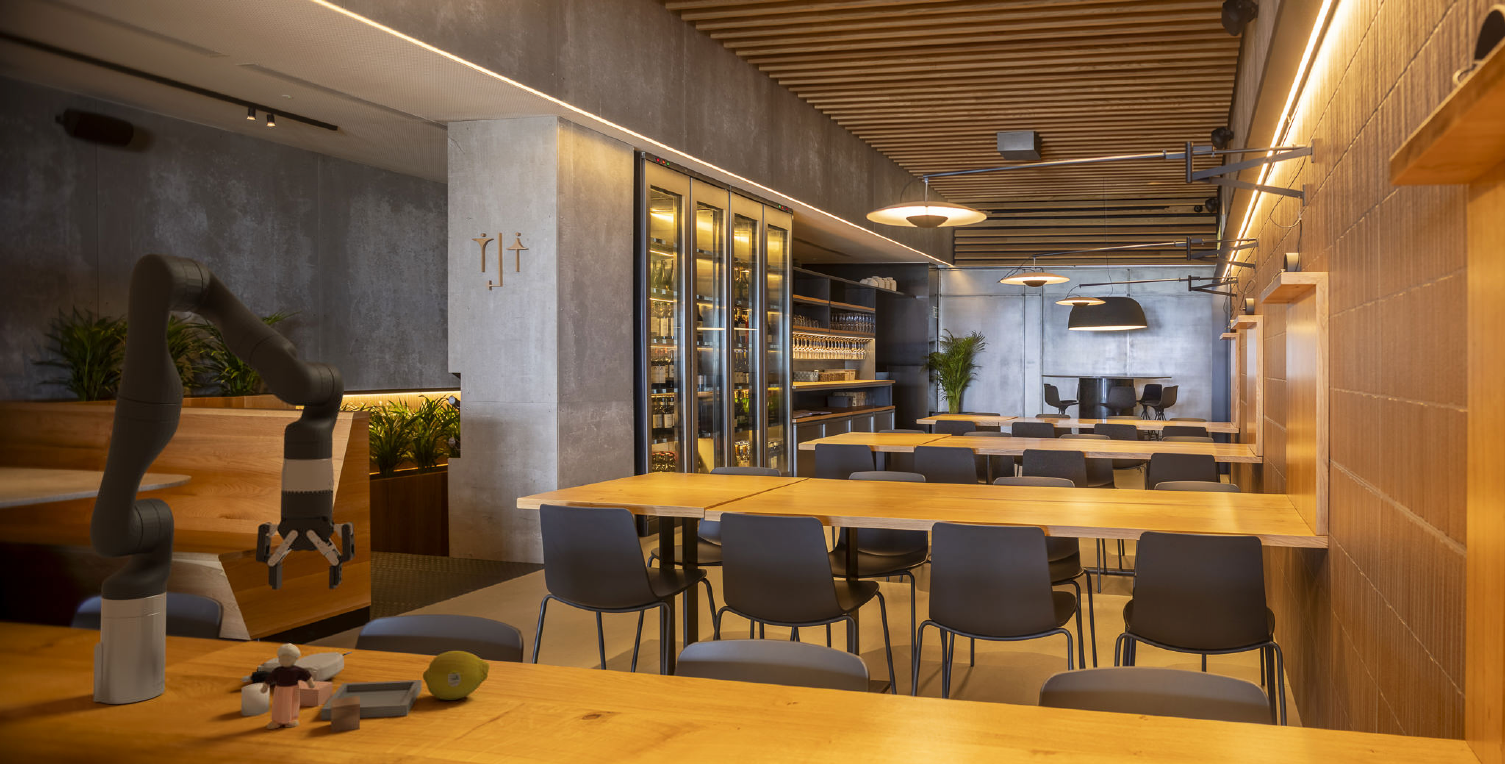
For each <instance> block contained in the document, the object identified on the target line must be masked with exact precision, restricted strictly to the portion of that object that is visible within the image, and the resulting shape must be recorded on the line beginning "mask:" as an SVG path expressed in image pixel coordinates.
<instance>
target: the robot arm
mask: <svg viewBox="0 0 1505 764" xmlns="http://www.w3.org/2000/svg"><path fill="white" fill-rule="evenodd" d="M129 279H130V280H129V285H128V286H129V287H128V301H127V323H126V328H127V329H126V338H125V339H126V340H125V347H124V354H123V362H122V363H123V364H122V370H121V376H120V381H119V386H118V389H117V396H116V402H115V406H114V407H115V408H114V414H113V423H112V428H111V429H112V431H111V436H110V441H109V442H110V443H109V448H108V452H107V457H106V461H105V462H106V463H105V466H104V470H103V471H104V472H103V474H102V479H101V482H100V485H99V489H98V492H97V496H96V499H95V502H94V507H93V510H92V514H91V519H90V525H89V538H90V543H91V544H90V545H91V547H92V549H93V550H94V552H95V553H96V555H98V556H100V557H102V558H108V559H112V558H121V557H128V556H130V557H129V561H127V563H126V564H125V565H124V566H123V567H122V568H121V569H119V570H118V571H116V572H115V573H113V574H111V575H109V576H108V577H106V578H105V579H104V580H103V581H102V584H101V586H100V587H101V589H100V590H101V591H100V593H101V594H100V596H101V601H100V641H99V642H97V643H96V644H95V645H94V648H93V650H94V651H93V655H94V657H93V698H92V699H93V703H97V702H98V703H104V704H110V705H118V704H121V705H122V704H130V703H137V702H141V701H146V700H150V699H153V698H155V697H157V696H160V695H162V694H163V693H164V692H165V689H166V688H165V687H166V686H165V684H166V640H167V638H166V635H167V634H166V633H167V631H166V630H167V623H166V622H167V590H168V589H167V586H168V585H167V584H168V581H169V578H170V576H171V572H172V564H173V552H174V551H173V549H174V541H175V539H174V538H175V520H174V514H173V512H172V511H173V510H172V508H171V507H170V506H169V504H168V503H167V502H166V501H164V500H163V499H161V498H155V497H152V498H151V497H150V498H141V499H138V498H137V495H138V491H139V489H140V485H141V482H142V481H143V477H144V476H145V474H146V472H147V471H148V469H149V468H150V467H151V465H152V464H153V463H154V461H155V460H156V459H157V458H158V457H159V455H160V454H161V453H162V452H163V451H164V449H165V448H166V447H167V446H168V444H169V443H170V442H171V440H172V439H173V438H174V435H175V434H176V432H177V430H178V427H179V424H180V419H181V413H182V405H183V401H184V386H183V383H182V382H183V381H182V378H181V376H180V374H179V372H178V369H177V366H176V364H175V362H174V360H173V357H172V355H171V353H170V349H169V346H168V328H169V320H170V314H171V312H180V313H182V312H183V313H193V314H195V315H197V316H200V317H202V318H203V319H205V320H207V321H208V322H210V323H211V324H213V325H214V326H215V328H217V329H218V331H219V333H220V336H221V339H222V342H223V343H224V345H225V347H226V348H227V350H228V351H229V352H230V353H231V354H232V355H234V356H235V357H236V358H237V359H238V360H239V361H241V362H242V363H244V364H245V365H246V366H247V367H248V368H250V369H251V370H252V371H253V372H255V373H257V374H258V375H259V377H260V378H261V380H262V382H263V383H264V384H265V386H266V387H267V388H268V389H269V391H270V392H271V393H272V394H273V396H275V397H276V399H278V400H280V401H281V402H283V403H285V404H287V405H291V406H295V407H303V409H302V412H301V415H300V418H299V419H297V420H295V421H292V422H290V423H288V424H287V425H286V426H285V428H284V436H283V462H282V467H281V475H280V476H281V479H280V480H281V482H280V484H281V485H280V521H279V523H272V522H271V521H267V522H265V523H261V524H259V525H258V528H257V538H256V539H257V541H256V552H255V561H256V562H258V563H264V564H266V565H267V566H268V584H269V586H271V588H272V590H279V589H281V588H282V586H283V563H282V561H283V560H284V558H285V557H286V556H287V555H288V553H290V552H291V550H292V551H293V552H301V551H307V552H315V551H317V550H318V551H319V552H320V553H321V554H322V555H323V556H324V557H325V558H326V559H327V560H328V561H329V563H330V564H331V565H329V566H328V567H329V571H328V572H329V573H328V589H329V590H335V589H336V588H338V586H339V585H340V584H341V583H342V581H343V578H342V577H343V574H342V573H343V563H346V562H350V561H351V560H353V559H354V558H355V557H356V544H355V542H356V541H355V525H354V522H351V521H347V522H346V523H335V522H334V518H333V515H334V486H335V479H334V478H335V477H334V475H335V474H334V472H335V471H334V464H333V447H334V445H333V444H334V443H333V434H334V430H335V426H336V423H337V420H338V418H339V414H340V409H341V407H342V403H343V398H344V391H345V385H344V379H343V376H342V374H341V372H340V371H339V369H338V368H337V367H336V366H335V365H333V364H330V363H327V362H314V361H312V362H311V361H302V360H299V358H298V350H297V349H296V347H295V345H294V344H293V342H291V341H290V340H289V339H288V338H286V337H285V336H283V335H282V334H281V333H279V332H278V331H277V330H275V329H274V328H273V327H271V326H270V325H269V324H267V323H266V322H265V321H264V320H262V319H260V318H259V317H258V316H257V315H255V313H253V312H252V311H251V310H250V309H249V308H248V307H247V306H245V304H244V303H243V302H242V301H241V300H240V299H239V298H238V297H237V296H236V295H235V294H234V293H233V292H232V291H231V290H230V289H229V288H228V287H227V286H226V284H225V283H224V282H222V280H221V279H220V278H219V277H218V276H217V275H216V274H215V273H214V271H212V270H211V269H210V268H209V267H208V266H207V265H206V264H205V263H203V262H201V261H199V260H197V259H193V258H189V257H183V256H178V255H177V256H176V255H170V254H169V255H168V254H161V253H147V254H145V255H143V256H141V257H140V258H139V259H138V260H137V261H136V263H135V264H134V266H133V269H132V272H131V275H130V278H129ZM335 532H336V533H337V535H338V537H339V538H341V550H342V552H340V551H339V550H338V549H337V546H336V544H335V543H334V542H333V541H332V539H331V536H333V534H334V533H335ZM276 533H278V535H279V536H280V537H281V539H282V540H283V541H282V542H281V543H280V545H279V546H278V547H277V548H276V549H275V550H274V551H275V552H274V553H273V554H271V546H272V537H274V536H275V535H276ZM341 553H342V554H341Z"/></svg>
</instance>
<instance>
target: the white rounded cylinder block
mask: <svg viewBox="0 0 1505 764" xmlns="http://www.w3.org/2000/svg"><path fill="white" fill-rule="evenodd" d="M263 684H264V682H260V683H254V684H247V685H245V686H243V687H241V696H240V697H241V699H240V700H241V701H240V702H241V703H240V705H241V706H240V714H241V716H244V717H255V716H261V715H263V714H267V713H268V712H269V711H270V688H271V687H269V688H268V691H267V692H266V693H261V692H260V690H261V688H262V687H263Z"/></svg>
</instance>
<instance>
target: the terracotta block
mask: <svg viewBox="0 0 1505 764" xmlns="http://www.w3.org/2000/svg"><path fill="white" fill-rule="evenodd" d="M313 682H314V683H315V687H314V688H312V689H310V688H309V687H308V684H307V683H306V682H304V681H301V680H299V681H298V684H299V689H300V706H304V707H305V706H307V707H320V706H322V705H323V704H326V703H327V702H328V700H329V699H330V698H331V697H332V696H333V687H334V685H333V682H332V681H313Z"/></svg>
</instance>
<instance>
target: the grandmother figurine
mask: <svg viewBox="0 0 1505 764" xmlns="http://www.w3.org/2000/svg"><path fill="white" fill-rule="evenodd" d="M301 655H302V653H301V650H300V649H299V648H298V647H297V646H296V645H294V644H292V643H285V644H282V645H280V646H279V647H278V649H277V651H276V656H277V658H279V663H280V665H282V666H279V667H276V668H275V669H274V670H273V671H272V672H271V673H270V674H269V675H268V676H267V678H266V679H265V680H264V682H263V683H264V684H263V687H262V688H261V690H260V692H261V693H266V692H267V691H268V688H269V687H270V686H271V685H273V684H272V683H274V682H276V681H277V682H276V684H275V686H274V688H273V689H274V690H273V695H272V705H271V706H272V707H271V717H270V720H271V721H270V722H269V723H267V726H266V728H267V729H268V730H269V729H270V730H272V729H273V730H274V729H278V728H281V726H283V725H284V727H285V728H294V727H298V726H299V725H300V723H299V722H300V721H299V719H298V718H299V715H300V707H301V705H300V689H299V684H298V680H301V681H304V682H306V683H307V684H308V687H309V688H310V689H312V688H314V687H315V683H314V682H313V679H312V674H311V673H309V672H308V671H307V670H305V669H304V668H302V667H299V666H296V665H293V664H295V662H296V660H299V659H300V657H301ZM270 688H271V687H270Z"/></svg>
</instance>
